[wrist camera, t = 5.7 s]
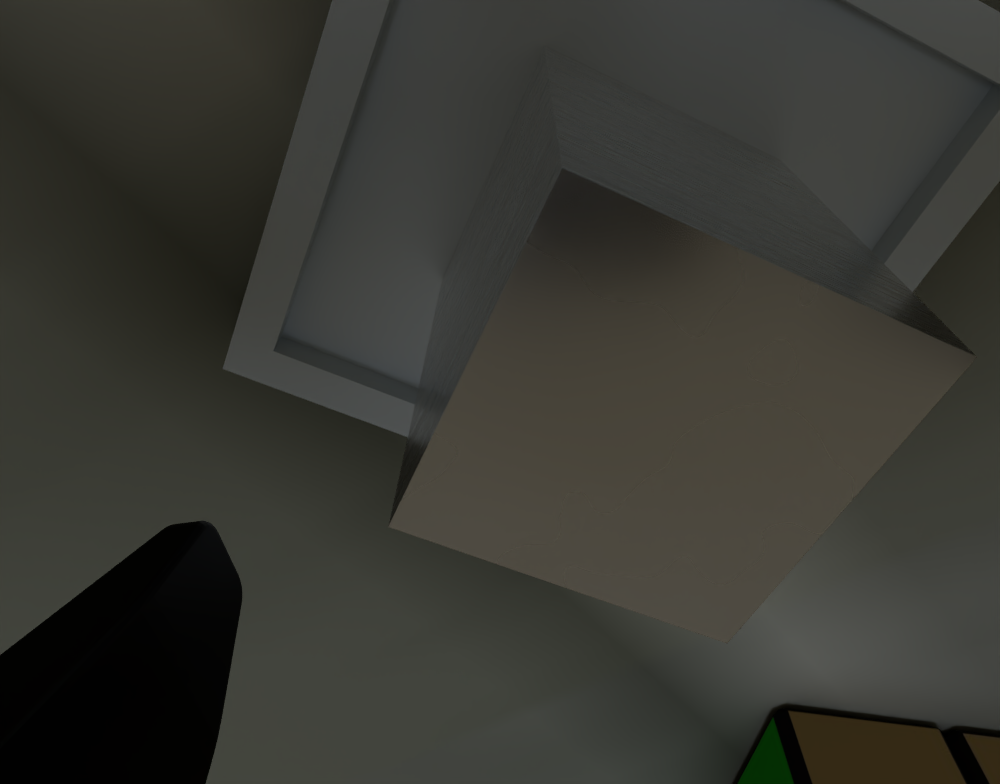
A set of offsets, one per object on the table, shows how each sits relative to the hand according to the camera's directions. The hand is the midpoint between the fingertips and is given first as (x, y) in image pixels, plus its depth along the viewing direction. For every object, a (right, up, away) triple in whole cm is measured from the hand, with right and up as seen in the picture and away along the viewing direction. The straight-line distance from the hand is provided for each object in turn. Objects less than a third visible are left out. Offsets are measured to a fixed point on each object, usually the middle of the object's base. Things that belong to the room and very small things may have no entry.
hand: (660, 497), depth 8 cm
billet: (0, +4, +7) cm, 8 cm away
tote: (0, +4, +7) cm, 8 cm away
